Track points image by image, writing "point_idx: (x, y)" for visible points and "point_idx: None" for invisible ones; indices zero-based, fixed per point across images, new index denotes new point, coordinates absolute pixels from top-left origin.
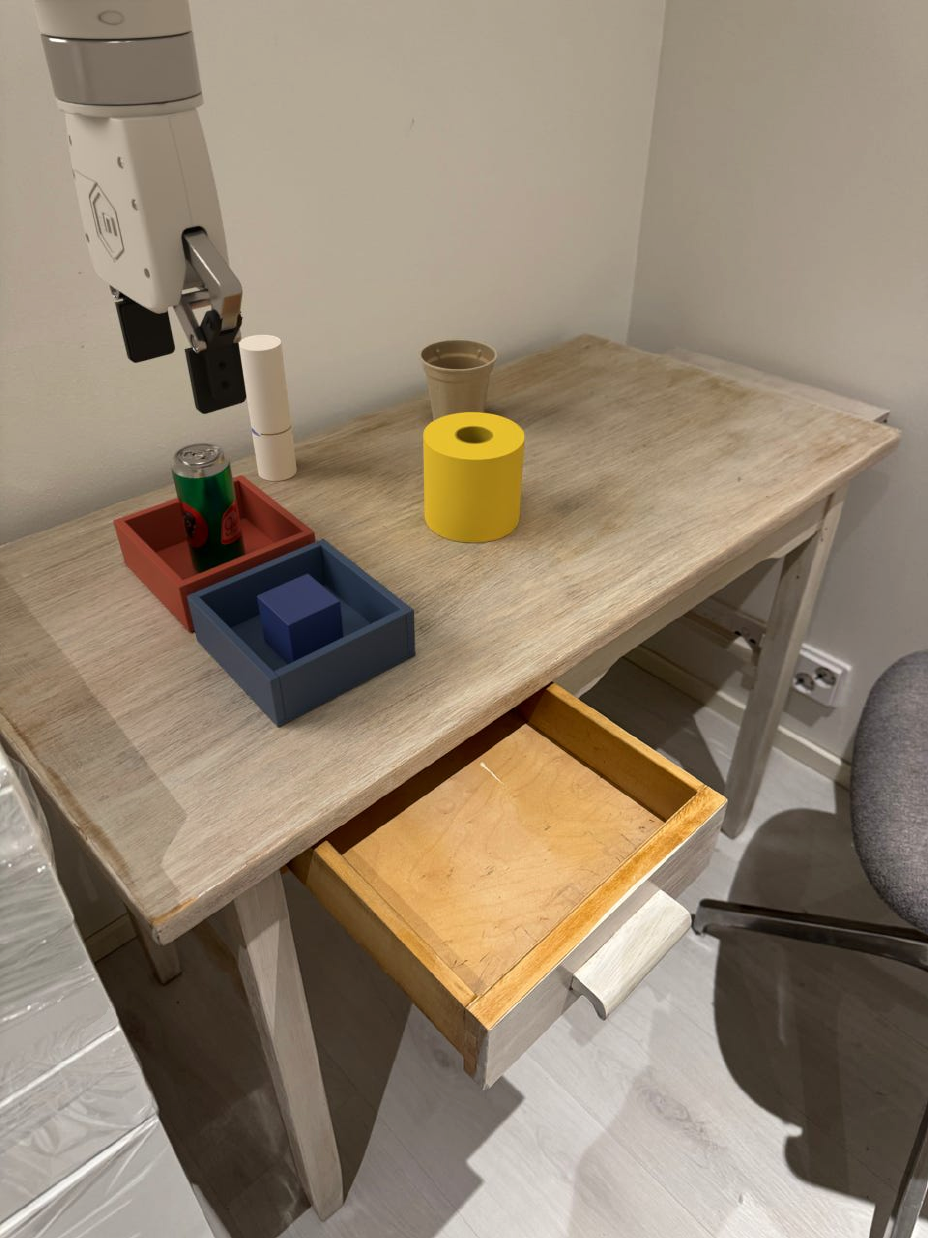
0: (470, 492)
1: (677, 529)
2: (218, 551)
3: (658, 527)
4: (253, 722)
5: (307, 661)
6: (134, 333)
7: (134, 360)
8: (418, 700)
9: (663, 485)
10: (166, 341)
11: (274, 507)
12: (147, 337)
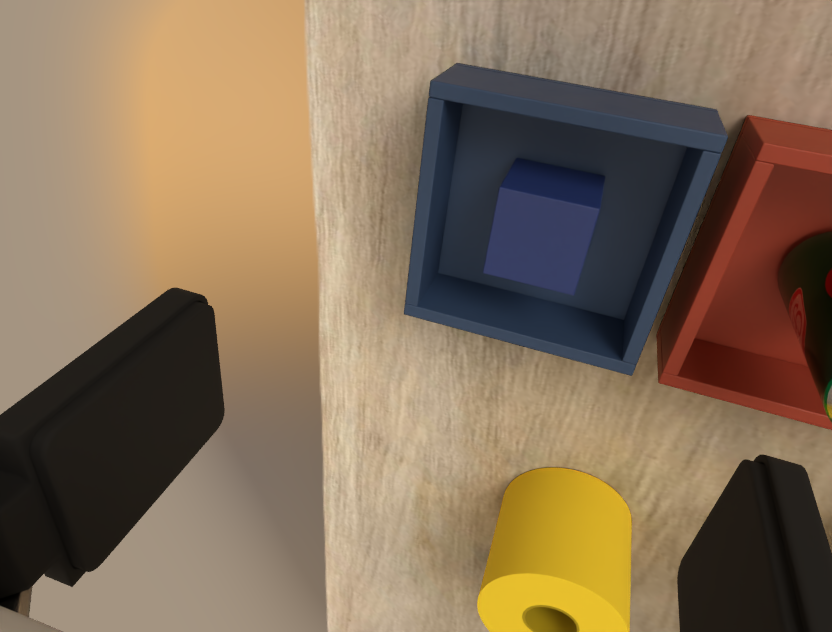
0: (516, 531)
1: (374, 558)
2: (804, 273)
3: (389, 556)
4: (492, 45)
5: (425, 149)
6: (753, 580)
7: (748, 460)
8: (368, 218)
9: (431, 614)
10: (690, 596)
11: (778, 404)
12: (724, 584)
